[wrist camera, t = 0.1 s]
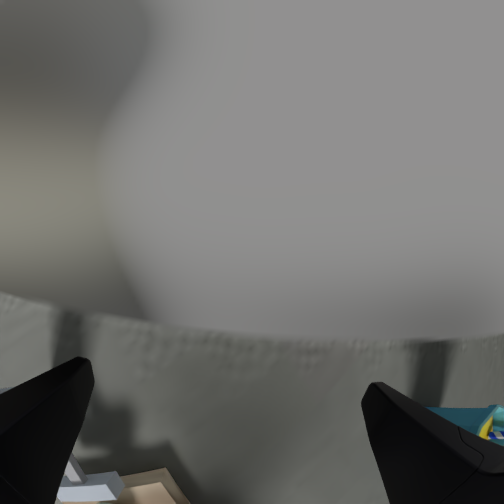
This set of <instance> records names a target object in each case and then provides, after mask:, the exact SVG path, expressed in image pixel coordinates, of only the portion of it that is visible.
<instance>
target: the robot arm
mask: <svg viewBox="0 0 504 504" xmlns="http://www.w3.org/2000/svg"><path fill="white" fill-rule="evenodd" d="M93 387H94V375H93V370H92V366H91V362H90V360H89V359H87V358H83V357H79V356H78V357H75V358H73V359H71V360H69V361H67V362H65V363H63V364H61V365H59V366H57V367H55V368H53V369H51V370H49V371H47V372H45V373H43V374H41V375H39V376H37V377H34V378H32V379H30V380H28V381H26V382H24V383H22V384H20V385H18V386H16V387H14V388H12V389H10V390H7V391H5V392H3V393H1V394H0V504H55V500H56V497H57V494H58V490H59V487H60V484H61V481H62V478H63V475H64V472H65V469H66V466H67V464H68V461H69V458H70V455H71V453H72V450H73V447H74V445H75V442H76V439H77V437H78V434H79V432H80V429H81V427H82V424H83V421H84V418H85V414H86V411H87V407H88V404H89V400H90V397H91V394H92V390H93ZM361 407H362V411H363V415H364V420H365V424H366V428H367V433H368V437H369V441H370V444H371V447H372V450H373V453H374V456H375V459H376V462H377V465H378V468H379V471H380V474H381V477H382V480H383V483H384V487H385V490H386V493H387V496H388V499H389V503H390V504H504V446H502V445H499V444H497V443H494V442H492V441H489V440H487V439H484V438H482V437H480V436H477V435H475V434H473V433H471V432H469V431H467V430H465V429H463V428H462V427H460V426H457V425H456V424H454V423H452V422H450V421H449V420H447V419H445V418H443V417H441V416H440V415H438V414H436V413H434V412H433V411H431V410H429V409H427V408H426V407H424V406H422V405H420V404H419V403H417V402H415V401H413V400H412V399H410V398H408V397H407V396H405V395H403V394H402V393H400V392H398V391H396V390H395V389H393V388H391V387H390V386H388V385H386V384H385V383H383V382H373V383H371V384H370V385H369V386H368V388H367V390H366V392H365V394H364V396H363V398H362V401H361Z"/></svg>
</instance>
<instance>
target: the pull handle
mask: <svg viewBox="0 0 504 504" xmlns="http://www.w3.org/2000/svg"><path fill="white" fill-rule="evenodd" d="M12 388H14V387H10V388H3V389H0V394H1V393H3V392H5V391H7V390H10V389H12ZM65 474H66V475H67V476H63V478H62V481H61V484H60V487H59V490H58V494H57V497H58V498H59V500H60V501H63V502H86V501H106V500H117V498H118V497H119V495H120V493H121V492H122V490H123V488H124V487H125V484H124V483H123V481H122V480H121V478H120V476H119V475H118V473H117V472H116V471H112V472H105V473H98V474H88V475H85V474H84V472H83V470H82V469H81V467H80V466H79V464H78V462H77V460H76V459H75V457H74V455H73V453H71V455H70V458H69V461H68V464H67V466H66V469H65Z"/></svg>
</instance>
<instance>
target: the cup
mask: <svg viewBox="0 0 504 504" xmlns="http://www.w3.org/2000/svg"><path fill="white" fill-rule="evenodd" d="M426 408H427V409H429V410H431V411H433V412H434V413H436V414H438V415H440V416H441V417H443V418H445V419H447V420H449V421H450V422H452V423H454V424H456V425H457V426H460V427H462V428H463V429H465V430H467V431H469V432H471V433H473V434H475V435H477V436H480V437H482V438H484V439H487V440H489V441H492V442H494V443H497V444H499V445H502V446H503V445H504V406H501V405H498V404H497V405H489V407H488V408H439V407H426Z"/></svg>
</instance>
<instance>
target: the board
mask: <svg viewBox="0 0 504 504" xmlns="http://www.w3.org/2000/svg"><path fill="white" fill-rule="evenodd" d="M120 478H121V480H122V481H123V483H124V484H125V487H124V488H123V490H122V492H121V493H120V495H119V497H118V498H117V500H106V501H86V502H63V501H62V503H63V504H97V503H102V502H106V503H112V504H191V503H190V502H189V500H188V499H187V498H186V496H185V495H184V494H183V492H182V491H181V489H180V488H179V487H178V485H177V484H176V482H175V481H174V479H173V478H172V476H171V475H170V473H169V472H168V470H167V468H166V467H165V468H161V469H156V470H152V471H147V472H142V473H137V474H132V475H126V476H120Z"/></svg>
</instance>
